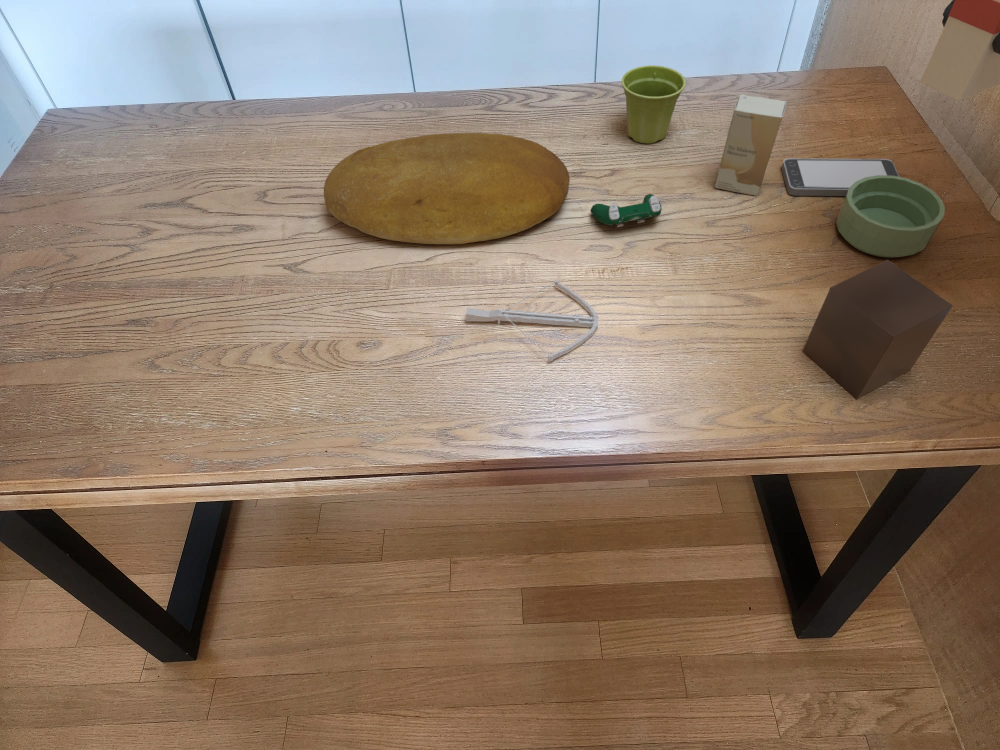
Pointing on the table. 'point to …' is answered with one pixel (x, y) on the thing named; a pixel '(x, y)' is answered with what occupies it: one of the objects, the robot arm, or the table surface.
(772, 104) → the cosmetic box
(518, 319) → the crossbow
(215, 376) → the table surface
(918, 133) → the table surface
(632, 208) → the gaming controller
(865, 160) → the smartphone
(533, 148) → the bread
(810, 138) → the table surface
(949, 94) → the snack carton
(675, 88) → the plant pot
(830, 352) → the block
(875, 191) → the bowl
